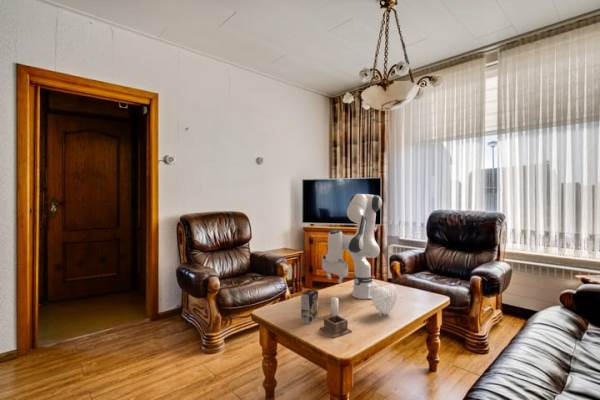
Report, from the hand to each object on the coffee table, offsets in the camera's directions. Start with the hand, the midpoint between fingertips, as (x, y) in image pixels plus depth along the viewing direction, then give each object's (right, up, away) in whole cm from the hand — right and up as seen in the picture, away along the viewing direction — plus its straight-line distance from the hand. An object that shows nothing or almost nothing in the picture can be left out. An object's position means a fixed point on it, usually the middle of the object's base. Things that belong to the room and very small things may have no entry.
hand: (334, 281), depth 174 cm
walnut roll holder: (-2, -21, -18) cm, 28 cm away
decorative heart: (+30, -21, +2) cm, 37 cm away
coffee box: (-15, -21, -6) cm, 26 cm away
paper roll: (0, -21, +1) cm, 21 cm away
